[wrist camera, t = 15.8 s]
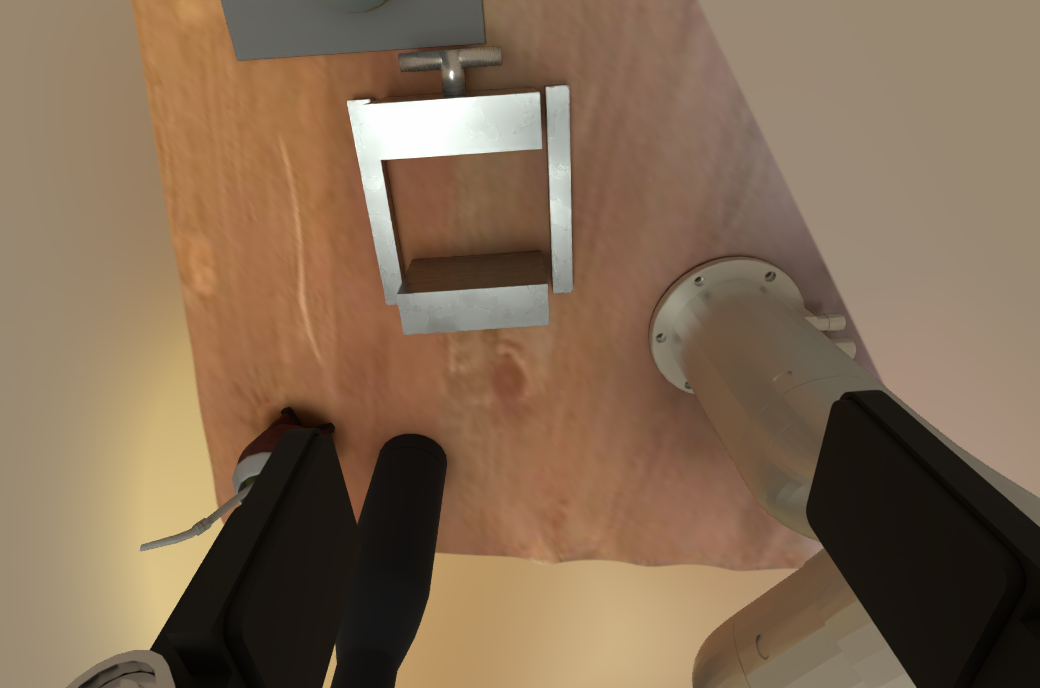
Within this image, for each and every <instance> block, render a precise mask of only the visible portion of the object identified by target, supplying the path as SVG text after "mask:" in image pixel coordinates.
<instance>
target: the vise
mask: <svg viewBox="0 0 1040 688" xmlns="http://www.w3.org/2000/svg"><path fill="white" fill-rule="evenodd" d="M398 58H399V66H400V70H401V72H414V71H428V70H440V72H441V81H442V89H443V93H438V94H424V95H409V96H395V97H385V98H381V99H378V100H375V98H367V99H352V100H349V101H347V105H348V110H349V115H350V120H351V125H352V130H353V136H354V141H355V146H356V151H357V156H358V161H359V166H360V171H361V177H362V182H363V187H364V192H365V197H366V202H367V207H368V213H369V218H370V223H371V228H372V233H373V238H374V243H375V249H376V254H377V259H378V264H379V269H380V274H381V279H382V284H383V290H384V295H385V300H386V305H392V304H398V305H399V311H400V316H401V322H402V327H403V333H404V335H410V334H424V333H439V332H453V331H468V330H483V329H497V328H512V327H526V326H541V325H549V308H548V284H547V279H546V274H545V269H544V264H543V259H542V254H541V251H530V252H516V253H502V254H487V255H473V256H458V257H444V258H429V259H415V260H412V261H411V263H410V266H409V268H408V270H407V272H406V275H405V272H404V266H403V260H402V254H401V249H400V243H399V237H398V231H397V225H396V220H395V214H394V208H393V202H392V196H391V190H390V185H389V179H388V173H387V167H386V161H385V160H388V159H402V158H416V157H431V156H445V155H459V154H474V153H488V152H502V151H517V150H531V149H542V136H541V111H540V92H539V91H538V90H536V89H535V88H534V87H523V88H509V89H495V90H481V91H466V87H465V76H464V68H471V67H485V66H499V65H502V57H501V46H496V47H482V48H468V49H454V50H440V51H425V52H411V53H399V55H398ZM544 89H545V116H546V143H547V170H548V197H549V224H550V251H551V278H552V289H553V293H566V292H573V284H572V227H571V170H570V112H569V85H567V84H566V85H552V86H544Z"/></svg>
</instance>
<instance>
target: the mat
mask: <svg viewBox="0 0 1040 688" xmlns="http://www.w3.org/2000/svg"><path fill="white" fill-rule="evenodd" d="M221 3H222V7H223V10H224V14H225V18H226V21H227V25H228V29H229V32H230V36H231V40H232V43H233V47H234V51H235V54H236V58H237V61H242V60H256V59H270V58H284V57H299V56H313V55H327V54H341V53H355V52H370V51H384V50H398V49H412V48H426V47H441V46H455V45H469V44H483V43H485V34H484V22H483V10H482V0H387V1H386V2H385V3H384V4H382V5H381V6H379V7H377V8H375V9H372V10H370V11H367V12H356V13H349V12H342V11H339V10H336V9H333V8H330V7H326V6H323V5H320V4H317V3H314V2H310V1H307V0H221Z"/></svg>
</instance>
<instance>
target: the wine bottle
mask: <svg viewBox="0 0 1040 688" xmlns="http://www.w3.org/2000/svg"><path fill="white" fill-rule="evenodd" d="M446 468H447V461H446V455H445V453H444V451H443V450H442V448H441V447H440V446H439V445H438V444H437V443H436V442H435V441H433V440H431V439H429V438H427V437H425V436H420V435H415V434H408V435H401V436H398V437H395V438H393V439H391V440H390V441H388V442H387V443H385V445H384V446H383V448H382V449H381V450H380V453H379V457H378V460H377V463H376V466H375V469H374V473H373V476H372V479H371V482H370V485H369V489H368V492H367V495H366V498H365V501H364V505H363V508H362V511H361V514H360V518H359V521H358V524H357V527H358V531H359V534H360V539H361V552H360V558H359V561H358V565H357V568H356V572H355V575H354V579H353V582H352V586H351V589H350V593H349V596H348V600H347V603H346V607H345V610H344V614H343V617H342V621H341V624H340V628H339V631H338V635H337V638H336V642H335V645H336V659H337V666H336V669H335V673H334V676H333V680H332V684H331V687H330V688H394V687H395V681H396V675H397V671H398V669H399V667H400V665H401V663H402V661H403V659H404V658H405V656H406V654H407V652H408V650H409V648H410V646H411V644H412V642H413V640H414V638H415V635H416V633H417V630H418V628H419V625H420V622H421V619H422V616H423V613H424V610H425V607H426V604H427V600H428V598H429V592H430V585H431V578H432V570H433V563H434V555H435V548H436V541H437V534H438V526H439V519H440V512H441V504H442V497H443V490H444V482H445V475H446Z"/></svg>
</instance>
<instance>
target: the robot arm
mask: <svg viewBox="0 0 1040 688" xmlns="http://www.w3.org/2000/svg"><path fill="white" fill-rule="evenodd" d="M767 273H768V274H767ZM766 274H767V275H766ZM697 277H699V279H698V280H695V279H696V278H697ZM845 326H846V320H845V317H844V315H843V314H840V313H837V314H824V315H820V316H815V315H814V314H813V313H811V312H810V311H808V310H807V309H806V308H805V307H804V302H803V298H802V296H801V294H800V291H799V289H798V287H797V286H796V285H795V283H794V282H793V281H792V279H791V278H790V277H789V276H788V275H786V274H785V273H784V272H783V271H781V270H780V269H779V268H777V267H775V266H774V265H772V264H770V263H769V262H766V261H763V260H760V259H757V258H750V257H742V256H740V257H725V258H721V259H717V260H713V261H710V262H707V263H705V264H703V265H700V266H698V267H696V268H694V269H693V270H691V271H690V272H688V273H686V274H685V275H683V276H682V277H681V278H680V279H679V280H677V281H676V282H675V283H674V284H673V285H672V286H671V287H670V288H669V289H668V291H667V292H666V293H665V294H664V296H663V297H662V298H661V300H660V302H659V303H658V305H657V307H656V309H655V311H654V314H653V317H652V320H651V323H650V330H649V344H650V351H651V354H652V356H653V359H654V362H655V363H656V365H657V367H658V369H659V371H660V372H661V373H662V375H663V376H664V377H665V378H666V380H668V381H669V382H670V383H672V384H673V385H674V386H675V387H677V388H679V389H681V390H683V391H685V392H687V393H691V394H694V395H695V396H696V398H697V399H698V401H699V403H700V405H701V406H702V408H703V410H704V412H705V413H706V415H707V417H708V419H709V420H710V422H711V424H712V426H713V427H714V429H715V431H716V433H717V434H718V436H719V438H720V440H721V441H722V443H723V445H724V446H725V448H726V450H727V452H728V453H729V455H730V457H731V459H732V460H733V462H734V464H735V466H736V467H737V469H738V471H739V473H740V474H741V476H742V478H743V479H744V481H745V483H746V484H747V486H748V488H749V490H750V491H751V493H752V495H753V496H754V498H755V499H756V500H757V502H758V503H759V504H760V505H761V507H762V508H763V509H764V510H765V511H766V512H767V513H768V514H769V515H770V516H772V517H773V518H774V519H776V520H777V521H778V522H780V523H781V524H783V525H784V526H786V527H787V528H789V529H791V530H793V531H795V532H797V533H799V534H801V535H803V536H805V537H808V538H810V539H813V540H816V541H819V542H821V544H822V545H823V547H824V548H823V549H822V550H821V551H819V552H818V553H817V554H816V555H814V556H813V557H812V558H810V559H809V560H808V561H806V562H805V564H804V566H803V567H801V568H800V569H798V570H797V571H796V572H795V573H793V574H791V575H790V576H788V577H787V578H786V579H784V580H783V581H781V582H780V583H779V584H777V585H776V586H774V587H773V588H771V589H770V590H769V591H767V592H766V593H764V594H763V595H762V596H760V597H759V598H757V599H756V600H754V601H753V602H752V603H750V604H749V605H747V606H746V607H744V608H743V609H742V610H740V611H739V612H737V613H736V614H735V615H733V616H732V617H730V618H729V619H728V620H726V621H725V622H724V623H723V624H722V625H720V626H719V627H718V628H717V629H716V630H714V631H713V632H712V633H711V635H709V636H708V638H707V639H706V640H705V642H704V643H703V645H702V646H701V647H700V649H699V651H698V654H697V656H696V658H695V662H694V667H693V673H692V686H693V688H1040V498H1039V497H1037V496H1035V495H1034V494H1032V493H1031V492H1029V491H1027V490H1025V489H1024V488H1022V487H1021V486H1019V485H1017V484H1016V483H1014V482H1013V481H1011V480H1010V479H1008V478H1006V477H1005V476H1003V475H1001V474H1000V473H998V472H996V471H995V470H993V469H992V468H990V467H989V466H987V465H986V464H984V463H983V462H981V461H980V460H978V459H977V458H975V457H974V456H972V455H971V454H970V453H968V452H967V451H965V450H963V449H962V448H961V447H959V446H958V445H957V444H955V443H954V442H953V441H952V440H950V439H949V438H948V437H946V436H945V435H944V434H943V433H941V432H940V431H939V430H938V429H936V428H935V427H934V426H932V425H931V424H930V423H929V422H927V421H926V420H925V419H924V418H922V417H921V416H920V415H918V414H917V413H916V412H915V411H914V410H912V409H911V408H910V407H909V406H908V405H906V404H905V403H904V402H903V401H902V400H901V399H899V398H898V397H897V396H896V395H894V394H893V393H892V392H891V391H889V389H887V388H886V387H885V386H884V385H883V384H882V383H880V382H879V381H878V380H877V379H876V378H875V377H873V376H872V375H871V374H870V373H869V372H868V371H866V370H865V369H864V368H863V367H862V366H861V365H859V364H858V363H857V362H856V361H855V360H854V357H855V355H856V346H855V343H854V341H853V340H852V339H851V338H849V337H843V338H828V337H827V336H825V335H824V334H823V333H822V332H821V331H825V332H830V331H842V330H844V328H845ZM658 334H660V335H658ZM657 335H658V336H657ZM360 552H361V539H360V534H359V531H358V527H357V523H356V520H355V516H354V513H353V509H352V506H351V502H350V499H349V495H348V491H347V488H346V484H345V481H344V477H343V474H342V470H341V467H340V463H339V459H338V456H337V452H336V449H335V445H334V442H333V439H332V437H331V436H330V435H323V433H322V431H321V430H320V429H319V428H305V429H291V430H286V431H285V432H284V433H283V434H282V436H281V438H280V439H279V441H278V443H277V445H276V446H275V448H274V450H273V451H272V453H271V455H270V456H269V458H268V460H267V462H266V463H265V465H264V467H263V468H262V470H261V472H260V473H259V475H258V477H257V479H256V480H255V482H254V484H253V485H252V487H251V489H250V491H249V492H248V494H247V496H246V497H245V499H244V501H243V502H242V504H241V505H240V506H239V507H237V508H236V509H235V510H234V511H233V512H232V514H231V515H230V516H229V518H228V520H227V521H226V523H225V525H224V526H223V528H222V530H221V531H220V533H219V535H218V537H217V538H216V540H215V541H214V543H213V545H212V547H211V548H210V550H209V552H208V553H207V555H206V557H205V558H204V560H203V562H202V563H201V565H200V567H199V568H198V570H197V572H196V573H195V575H194V577H193V578H192V580H191V582H190V583H189V585H188V587H187V589H186V590H185V592H184V594H183V595H182V597H181V598H180V600H179V602H178V604H177V605H176V607H175V608H174V610H173V612H172V614H171V615H170V617H169V618H168V620H167V622H166V624H165V625H164V627H163V629H162V630H161V632H160V634H159V635H158V637H157V639H156V640H155V642H154V644H153V645H152V647H151V649H150V650H133V651H129V652H126V653H122V654H118V655H115V656H113V657H111V658H109V659H107V660H104V661H102V662H100V663H98V664H96V665H95V666H93V667H92V668H91V669H89V670H87V671H86V672H85V673H83V674H82V675H80V676H79V677H77V678H76V679H75V680H74V681H73V682H72V683H71V684H70V685H69V686H68V687H66V688H322V687H323V683H324V680H325V676H326V673H327V670H328V666H329V663H330V659H331V656H332V652H333V648H334V645H335V642H336V638H337V635H338V631H339V628H340V624H341V621H342V617H343V614H344V610H345V607H346V603H347V600H348V596H349V593H350V589H351V586H352V582H353V579H354V575H355V572H356V568H357V565H358V561H359V558H360Z"/></svg>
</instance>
